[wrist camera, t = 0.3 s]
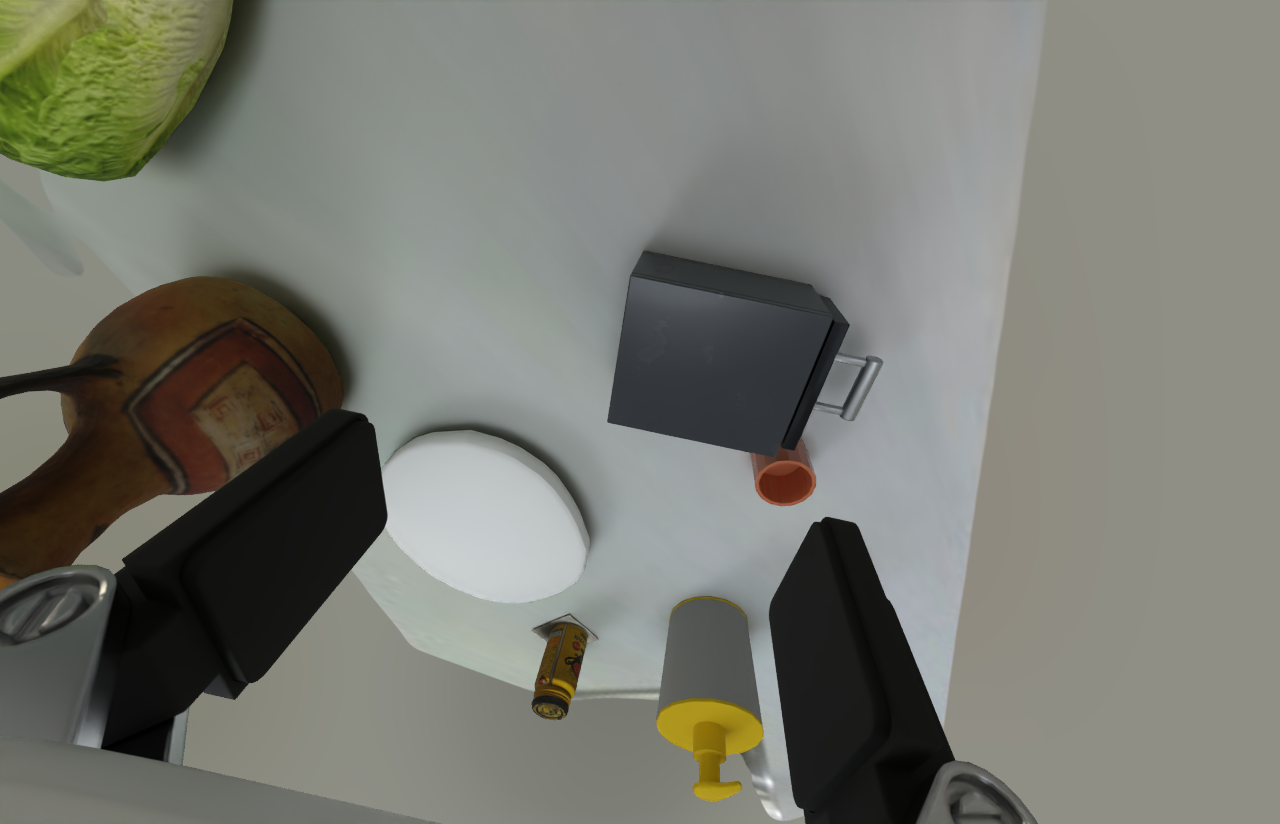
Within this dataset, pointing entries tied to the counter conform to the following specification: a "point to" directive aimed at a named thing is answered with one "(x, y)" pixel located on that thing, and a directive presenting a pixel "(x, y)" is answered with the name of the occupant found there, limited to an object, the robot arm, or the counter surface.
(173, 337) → the ceramic pitcher
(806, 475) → the cup
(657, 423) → the dark gray drawer box
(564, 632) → the condiment
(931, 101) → the counter surface
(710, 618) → the soap bottle
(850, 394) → the drawer
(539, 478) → the plate
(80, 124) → the lettuce
